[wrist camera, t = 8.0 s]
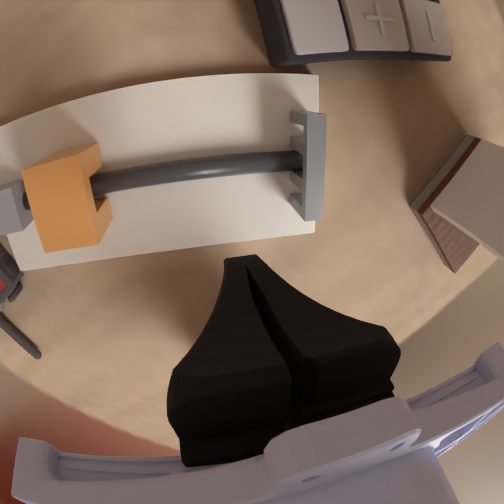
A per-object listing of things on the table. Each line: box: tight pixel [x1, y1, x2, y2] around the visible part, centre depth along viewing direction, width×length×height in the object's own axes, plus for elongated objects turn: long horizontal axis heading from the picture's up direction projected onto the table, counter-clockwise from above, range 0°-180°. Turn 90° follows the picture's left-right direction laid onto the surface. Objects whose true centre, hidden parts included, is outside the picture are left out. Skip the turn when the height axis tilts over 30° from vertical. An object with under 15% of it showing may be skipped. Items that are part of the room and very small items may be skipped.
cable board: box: [0, 73, 326, 271], centre depth 17 cm, size 12×25×4 cm, turn 91°
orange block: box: [21, 143, 113, 253], centre depth 16 cm, size 5×4×4 cm
